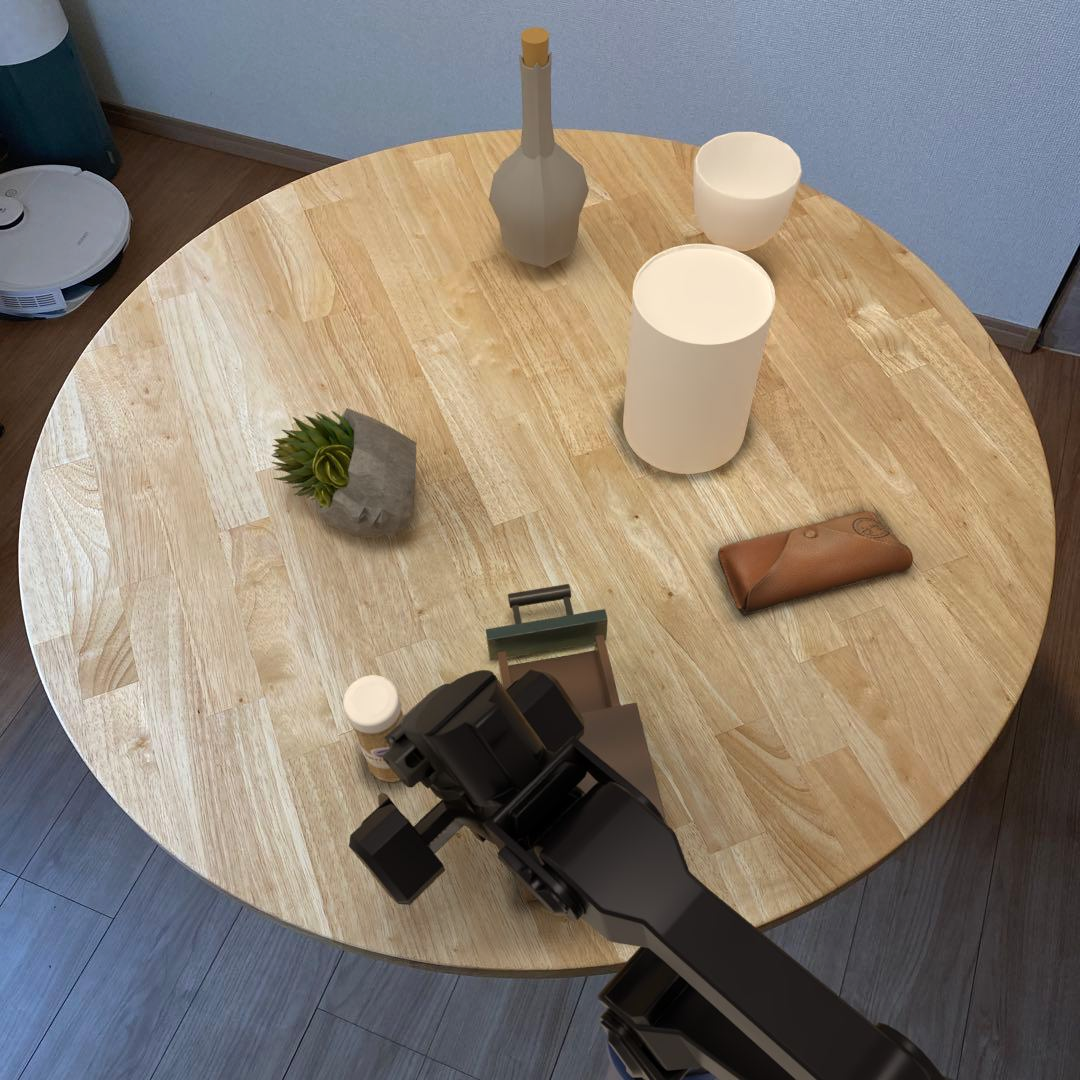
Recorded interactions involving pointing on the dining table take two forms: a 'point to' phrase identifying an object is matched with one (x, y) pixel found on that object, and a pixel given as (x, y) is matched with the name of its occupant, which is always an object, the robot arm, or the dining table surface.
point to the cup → (744, 188)
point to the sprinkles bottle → (373, 719)
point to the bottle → (538, 171)
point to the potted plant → (352, 472)
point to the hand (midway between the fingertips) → (427, 757)
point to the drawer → (576, 673)
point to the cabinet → (618, 753)
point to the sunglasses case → (810, 560)
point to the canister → (694, 355)
